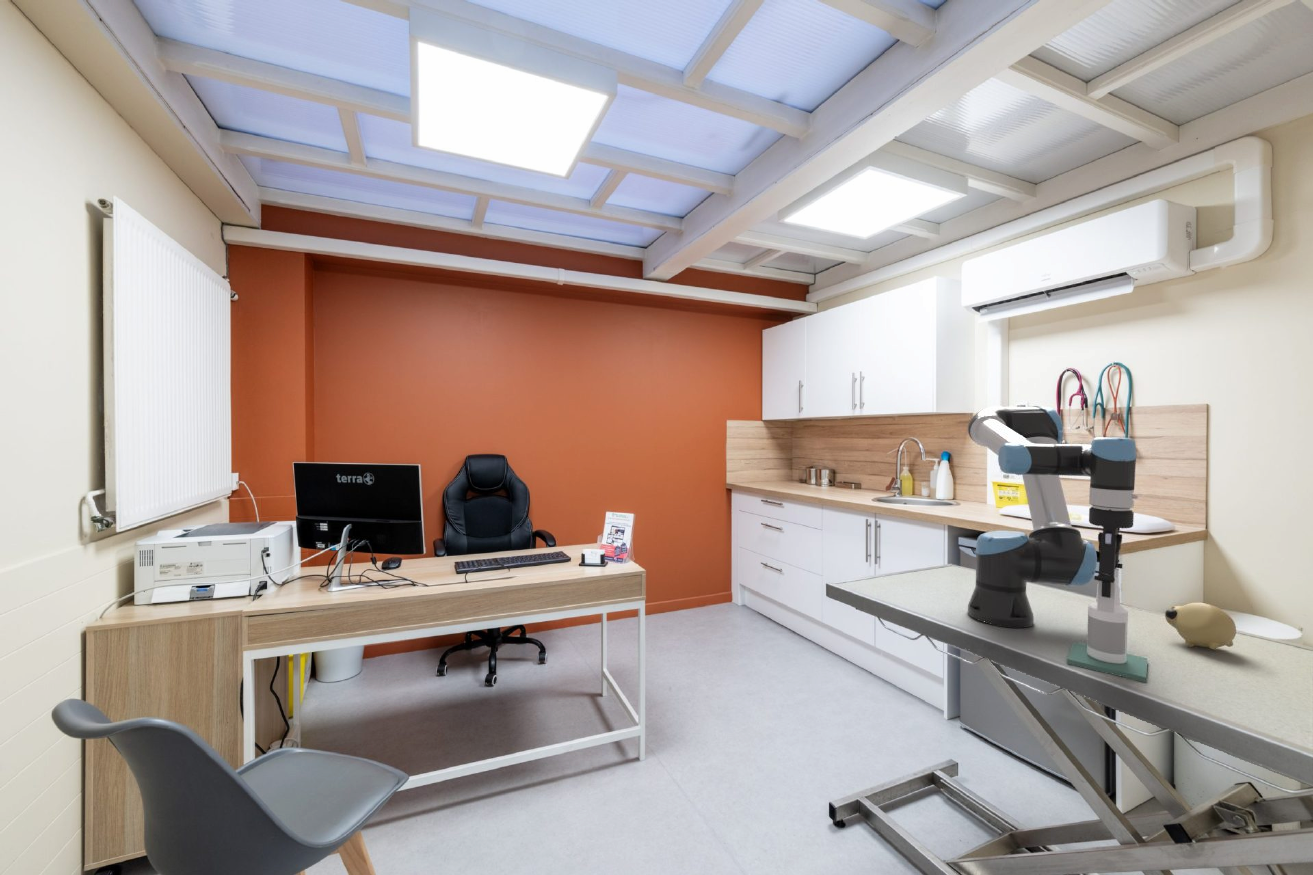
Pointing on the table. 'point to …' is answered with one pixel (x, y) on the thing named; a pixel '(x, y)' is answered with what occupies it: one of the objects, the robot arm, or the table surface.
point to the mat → (1130, 669)
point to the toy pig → (1202, 625)
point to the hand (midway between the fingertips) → (1107, 603)
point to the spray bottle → (1108, 631)
